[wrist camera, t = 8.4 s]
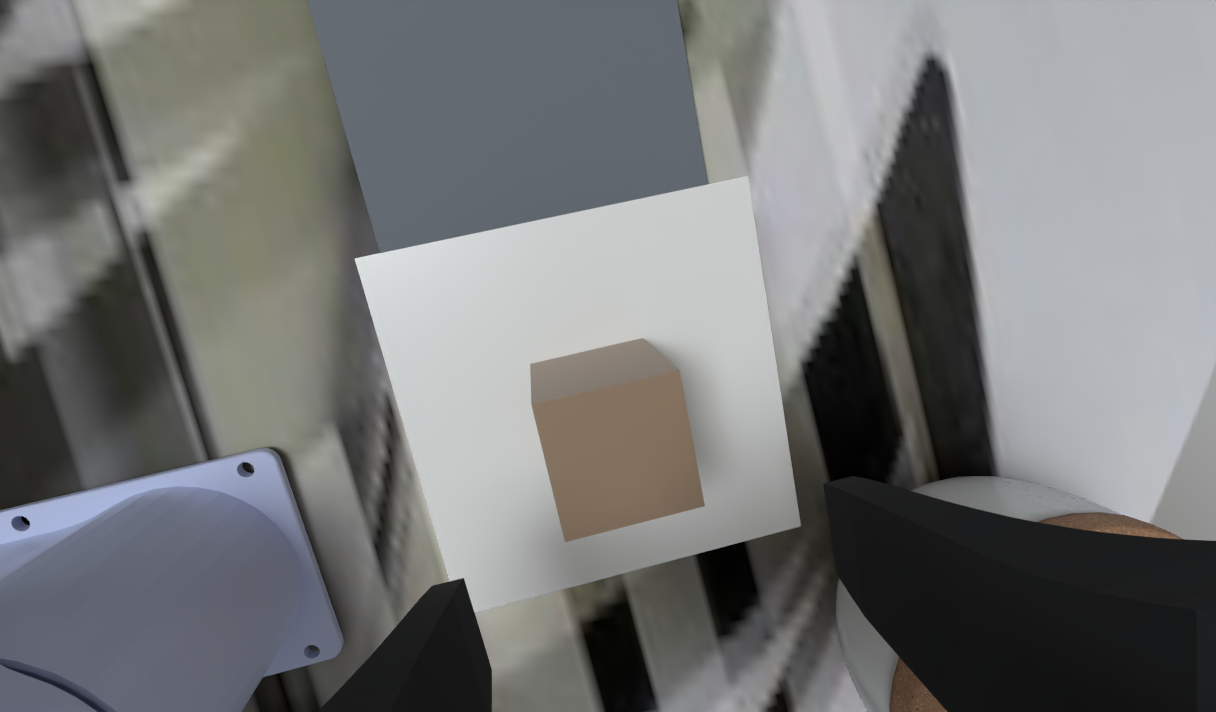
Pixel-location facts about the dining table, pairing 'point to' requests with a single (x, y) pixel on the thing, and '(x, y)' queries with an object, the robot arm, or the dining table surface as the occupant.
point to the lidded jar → (874, 667)
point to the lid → (588, 390)
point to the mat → (508, 109)
